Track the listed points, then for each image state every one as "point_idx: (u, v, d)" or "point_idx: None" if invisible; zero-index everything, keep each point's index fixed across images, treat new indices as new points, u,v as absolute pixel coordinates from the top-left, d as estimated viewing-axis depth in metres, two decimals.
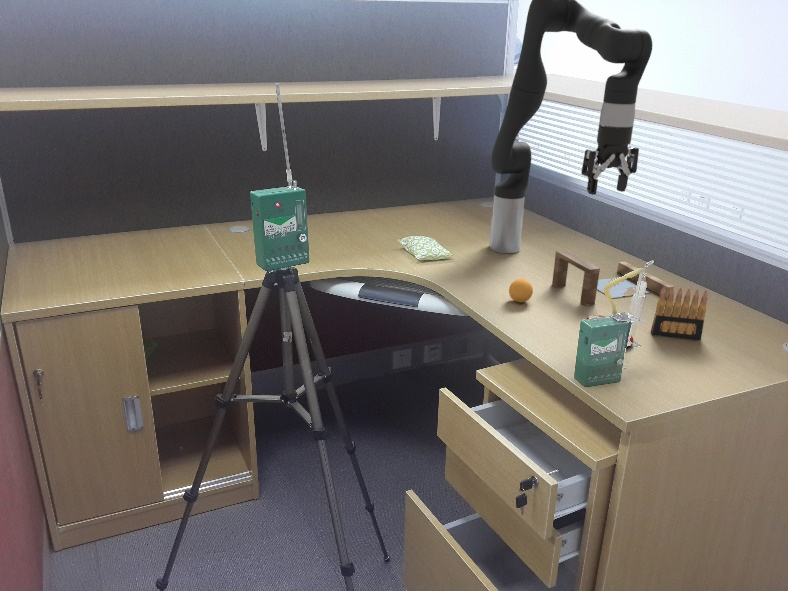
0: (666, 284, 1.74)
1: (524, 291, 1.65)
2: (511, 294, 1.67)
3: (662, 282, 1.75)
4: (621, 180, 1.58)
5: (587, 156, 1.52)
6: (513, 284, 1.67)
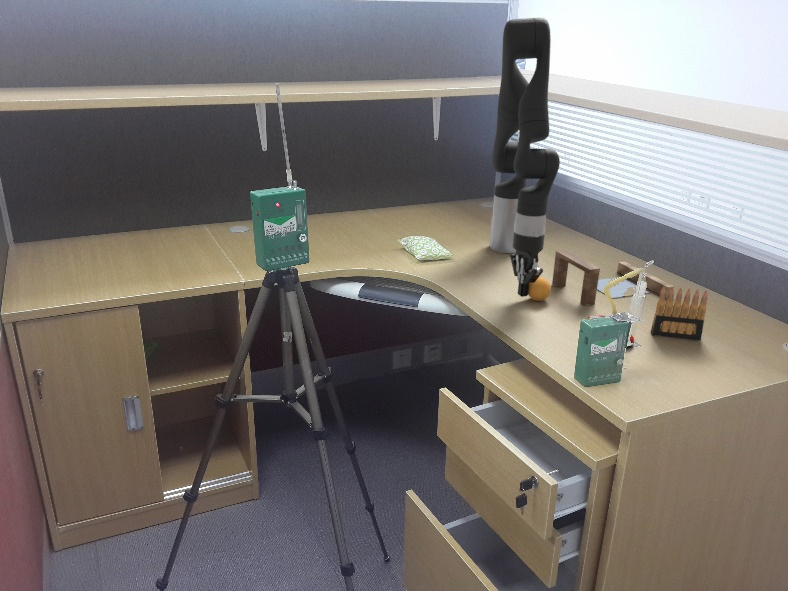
0: (666, 284, 1.74)
1: (546, 291, 1.67)
2: (536, 281, 1.67)
3: (662, 282, 1.75)
4: None
5: (536, 274, 1.62)
6: (544, 279, 1.69)
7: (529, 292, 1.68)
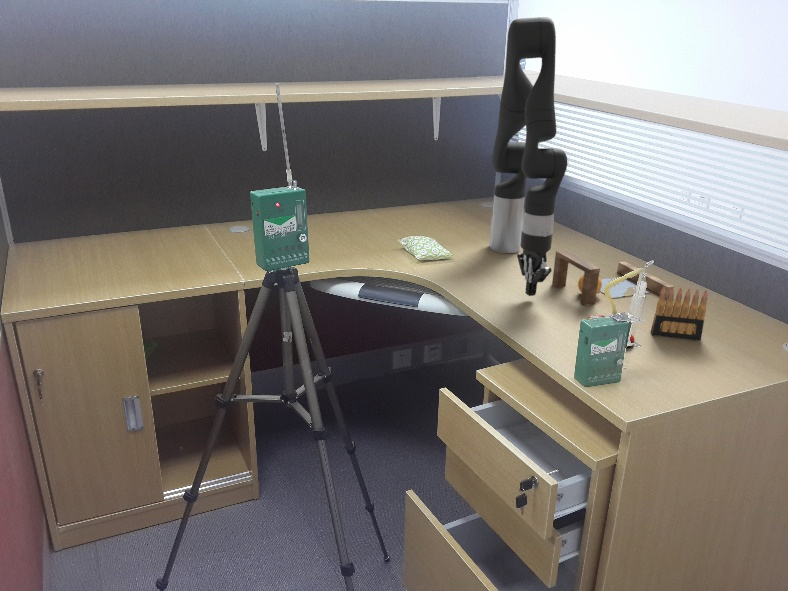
0: (666, 284, 1.74)
1: None
2: (581, 288, 1.72)
3: (662, 282, 1.75)
4: None
5: (544, 274, 1.62)
6: (583, 278, 1.72)
7: None
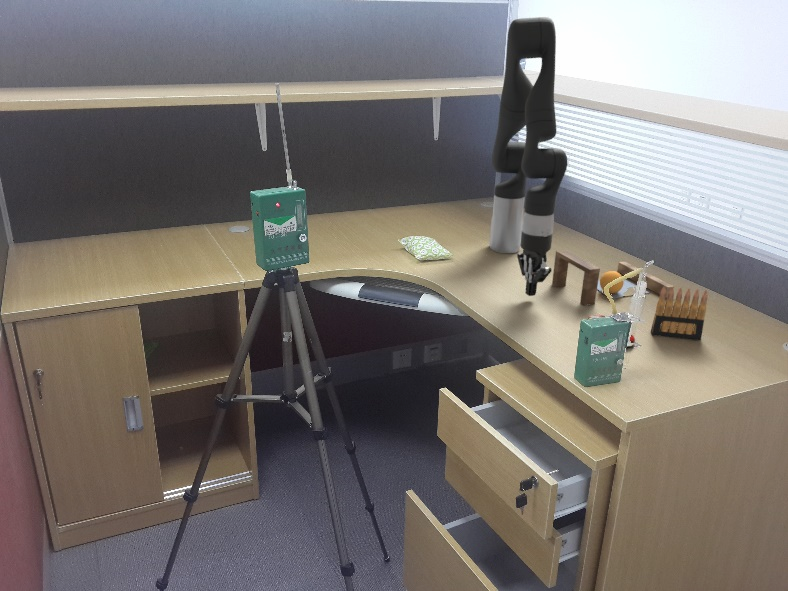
0: (666, 284, 1.74)
1: (620, 286, 1.72)
2: (618, 273, 1.73)
3: (662, 282, 1.75)
4: None
5: (544, 274, 1.62)
6: None
7: (606, 277, 1.73)
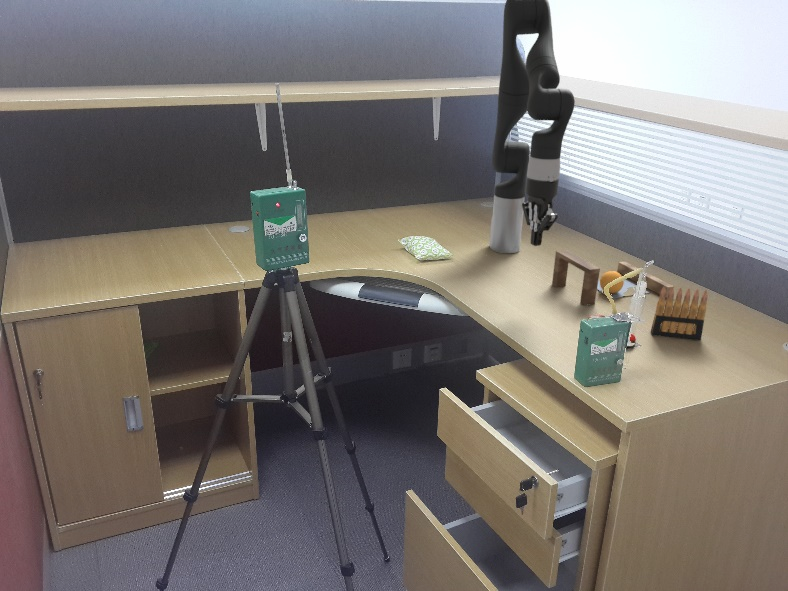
0: (666, 284, 1.74)
1: (620, 286, 1.72)
2: (618, 273, 1.73)
3: (662, 282, 1.75)
4: None
5: (550, 221, 1.57)
6: None
7: (606, 277, 1.73)
